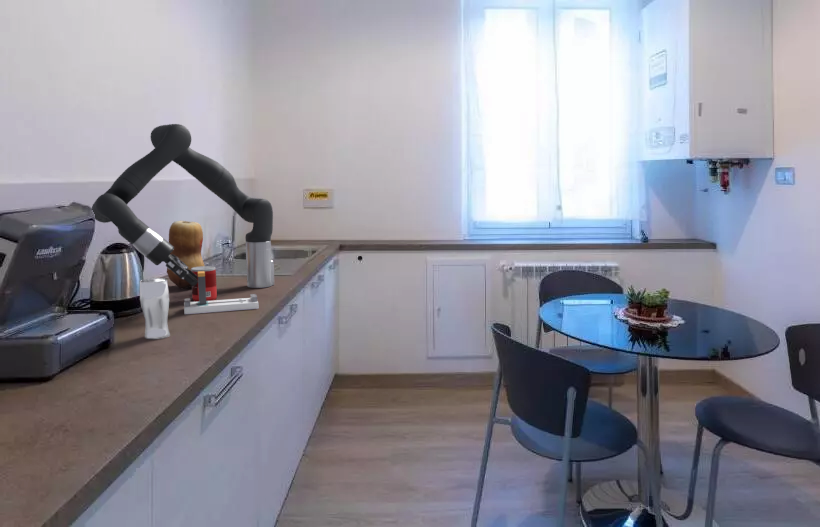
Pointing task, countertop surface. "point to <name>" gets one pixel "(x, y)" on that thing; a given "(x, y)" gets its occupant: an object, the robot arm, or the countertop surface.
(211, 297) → the canned food
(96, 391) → the countertop surface
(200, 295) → the post
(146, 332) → the beer glass
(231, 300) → the white slider base
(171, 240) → the butternut squash
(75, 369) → the countertop surface
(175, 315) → the countertop surface
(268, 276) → the robot arm
